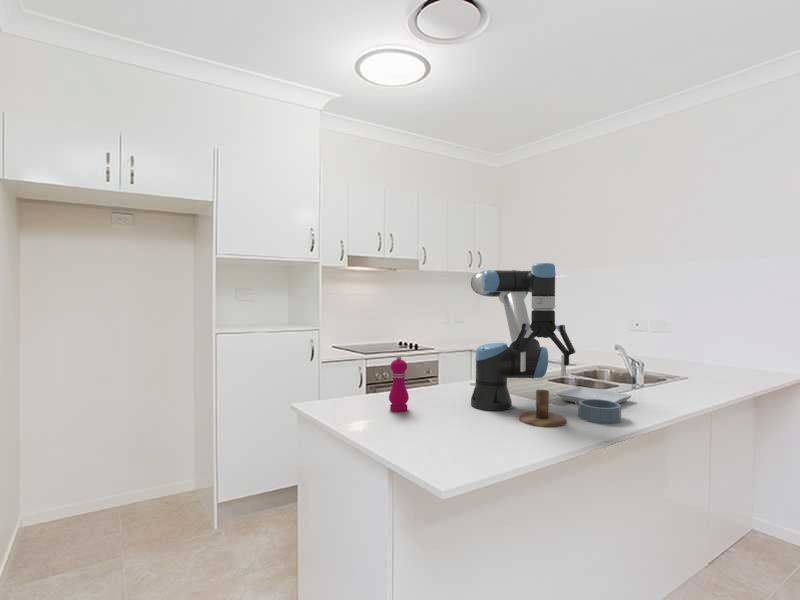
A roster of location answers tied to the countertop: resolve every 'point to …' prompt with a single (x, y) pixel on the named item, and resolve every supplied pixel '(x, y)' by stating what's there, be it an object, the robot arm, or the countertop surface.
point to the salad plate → (588, 393)
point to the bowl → (599, 411)
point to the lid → (542, 413)
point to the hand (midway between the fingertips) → (542, 373)
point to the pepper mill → (398, 386)
